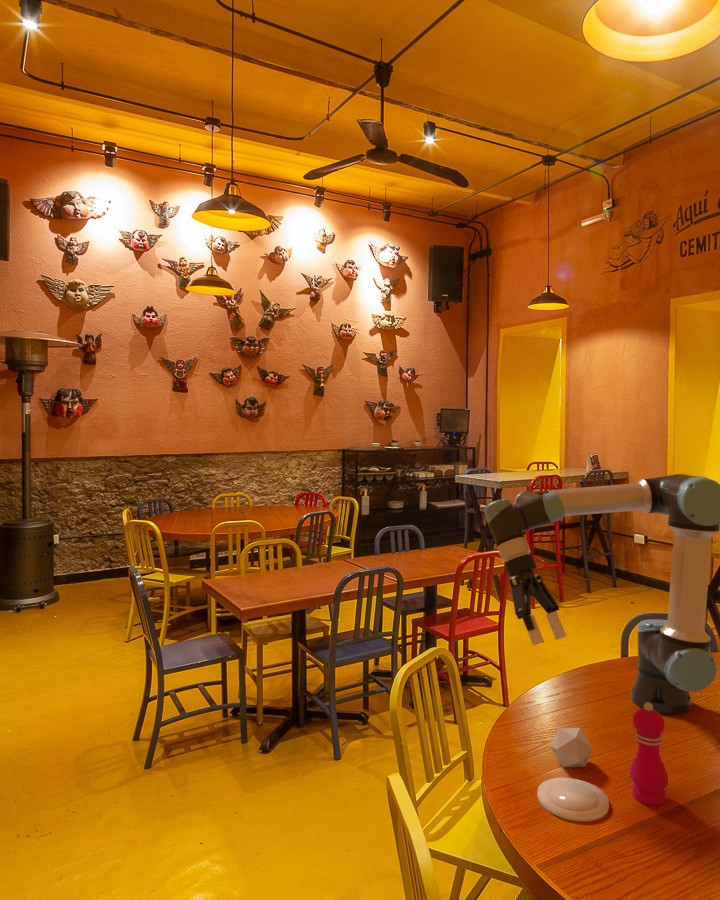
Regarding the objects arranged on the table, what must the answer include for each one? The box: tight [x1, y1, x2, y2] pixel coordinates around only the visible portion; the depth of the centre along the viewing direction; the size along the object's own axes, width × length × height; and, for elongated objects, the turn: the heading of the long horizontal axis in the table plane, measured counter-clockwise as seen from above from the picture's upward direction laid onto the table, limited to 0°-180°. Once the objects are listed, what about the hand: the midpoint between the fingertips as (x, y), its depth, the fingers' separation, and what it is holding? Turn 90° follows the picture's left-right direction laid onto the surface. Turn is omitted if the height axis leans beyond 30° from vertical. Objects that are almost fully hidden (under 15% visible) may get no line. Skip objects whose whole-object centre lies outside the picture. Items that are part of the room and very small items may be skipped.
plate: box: [537, 777, 610, 823], centre depth 129 cm, size 14×14×1 cm
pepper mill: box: [629, 702, 669, 807], centre depth 130 cm, size 7×7×20 cm
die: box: [550, 727, 594, 768], centre depth 144 cm, size 8×9×10 cm
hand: (550, 641), depth 151 cm, fingers open, 13 cm apart
